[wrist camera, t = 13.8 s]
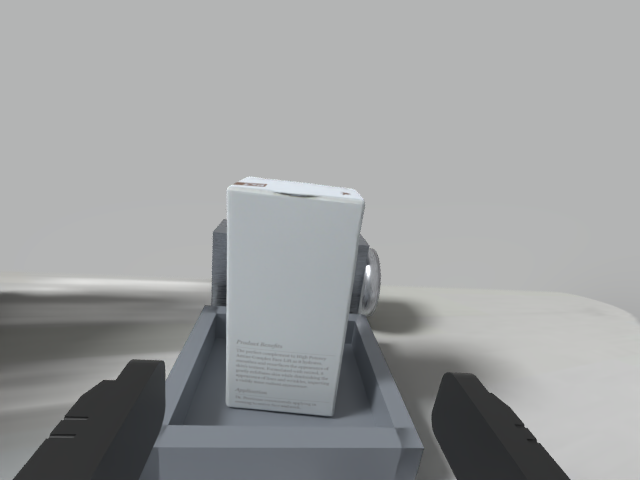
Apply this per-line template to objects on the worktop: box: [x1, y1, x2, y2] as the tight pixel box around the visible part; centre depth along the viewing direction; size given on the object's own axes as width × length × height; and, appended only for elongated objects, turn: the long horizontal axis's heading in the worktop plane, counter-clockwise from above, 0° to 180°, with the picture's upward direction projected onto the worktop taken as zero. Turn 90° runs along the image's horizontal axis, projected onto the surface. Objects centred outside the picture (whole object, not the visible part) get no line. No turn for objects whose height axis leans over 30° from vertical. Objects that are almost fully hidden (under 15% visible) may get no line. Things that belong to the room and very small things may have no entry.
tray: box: [139, 305, 424, 480], centre depth 18 cm, size 12×11×3 cm
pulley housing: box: [211, 219, 381, 316], centre depth 27 cm, size 14×6×8 cm, turn 96°
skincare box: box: [226, 177, 365, 416], centre depth 17 cm, size 6×4×12 cm
